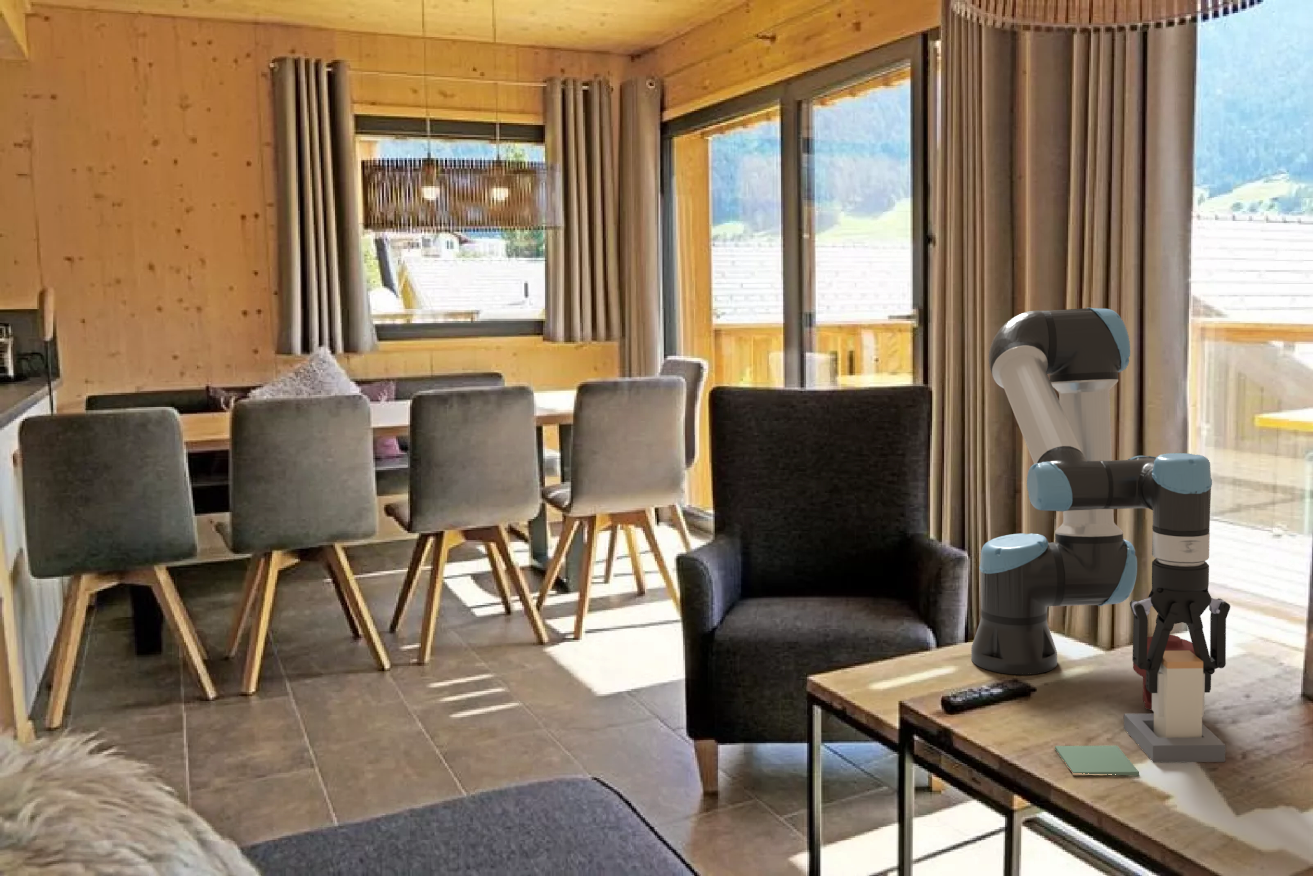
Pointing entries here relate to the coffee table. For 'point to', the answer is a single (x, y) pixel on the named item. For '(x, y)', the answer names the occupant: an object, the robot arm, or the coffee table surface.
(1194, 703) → the plug
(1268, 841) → the coffee table surface
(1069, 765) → the mat
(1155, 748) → the grey square frame
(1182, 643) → the mechanical component
